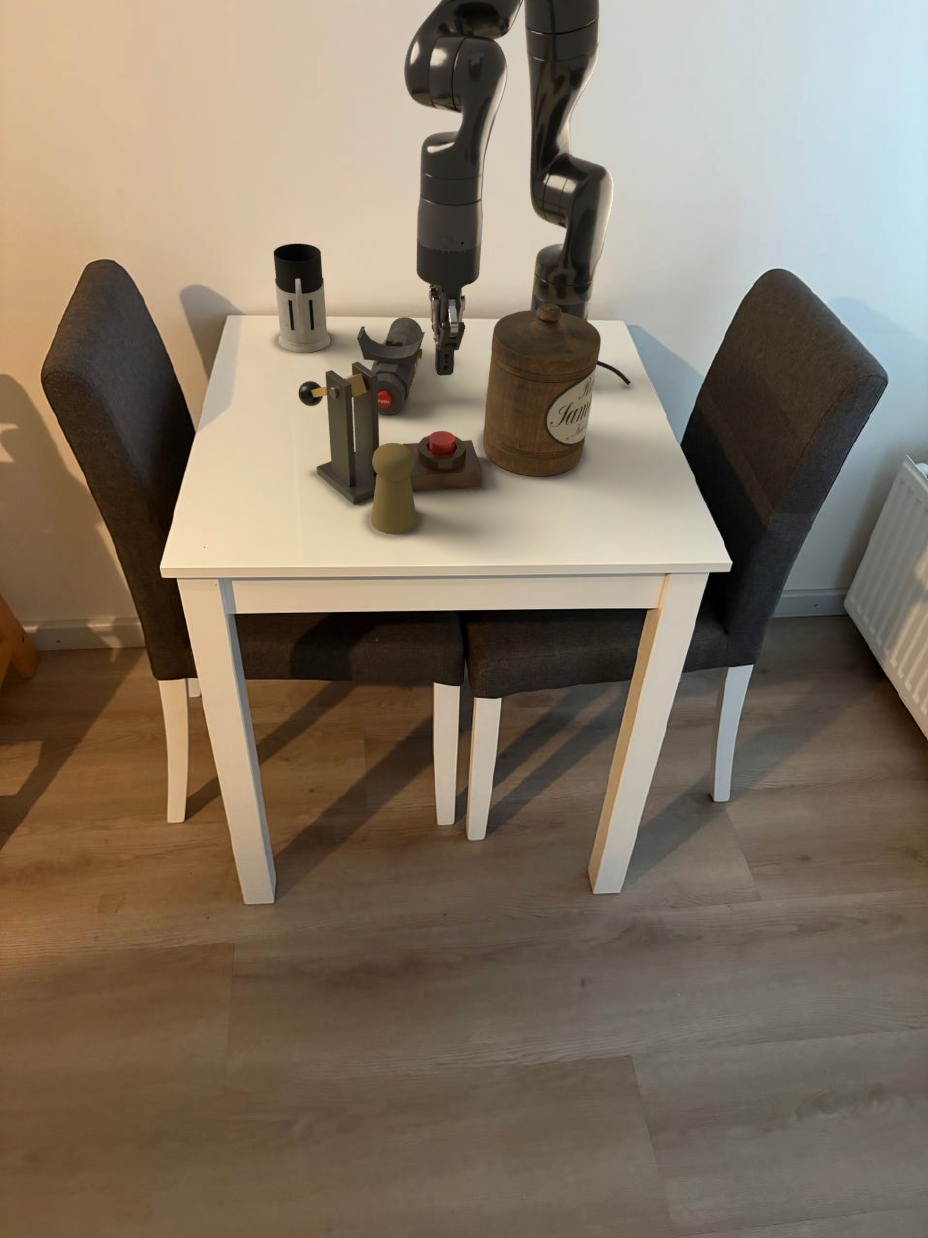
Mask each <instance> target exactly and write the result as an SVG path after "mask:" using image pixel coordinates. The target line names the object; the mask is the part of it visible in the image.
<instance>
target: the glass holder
mask: <svg viewBox="0 0 928 1238" xmlns="http://www.w3.org/2000/svg"><path fill="white" fill-rule="evenodd" d="M272 254H273V261H274V272H275V279H274V283H275V293H276V302H277V303H276V304H277V313H278V322H279V323H278V324H279V333H280V334H279V337H278V341H277V342H278V345H280V347H281V348H283V349H284V350H286V351H290V352H293V353H313V352H317V351H321V350H323V349H325V348H327V347H328V346H329V345H330V343H331V338H330V335H329V334H328V327H327V325H328V324H327V313H326V309H327V308H326V297H325V296H326V293H325V280H324V277H323V265H322V252H321V250H320V248H318V247H316V246H315V245H312V244H307V243H287V244H283V245H280V246H278V247H276V248H275V249H274V250H273V253H272Z"/></svg>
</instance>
